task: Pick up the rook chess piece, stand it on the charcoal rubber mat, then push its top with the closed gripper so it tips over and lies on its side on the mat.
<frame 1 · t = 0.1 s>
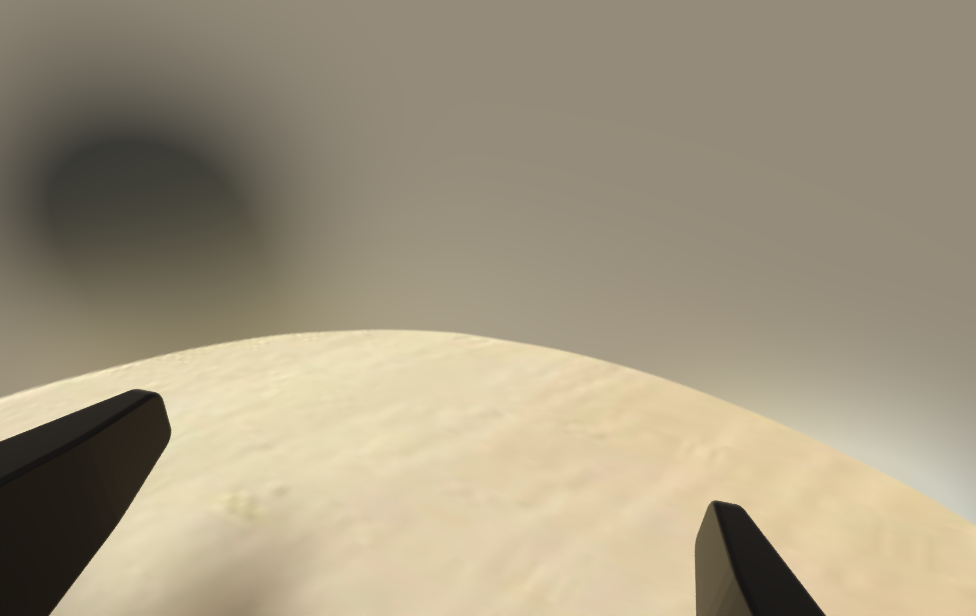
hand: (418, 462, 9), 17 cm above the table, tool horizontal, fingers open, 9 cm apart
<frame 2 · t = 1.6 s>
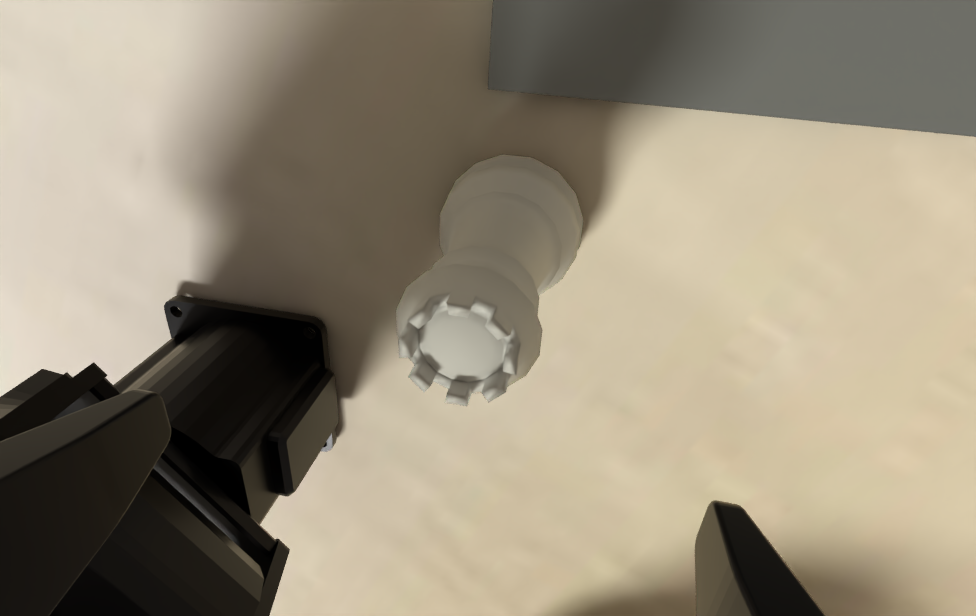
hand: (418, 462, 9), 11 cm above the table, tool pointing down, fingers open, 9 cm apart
rook chess piece: (515, 217, 19), on the table
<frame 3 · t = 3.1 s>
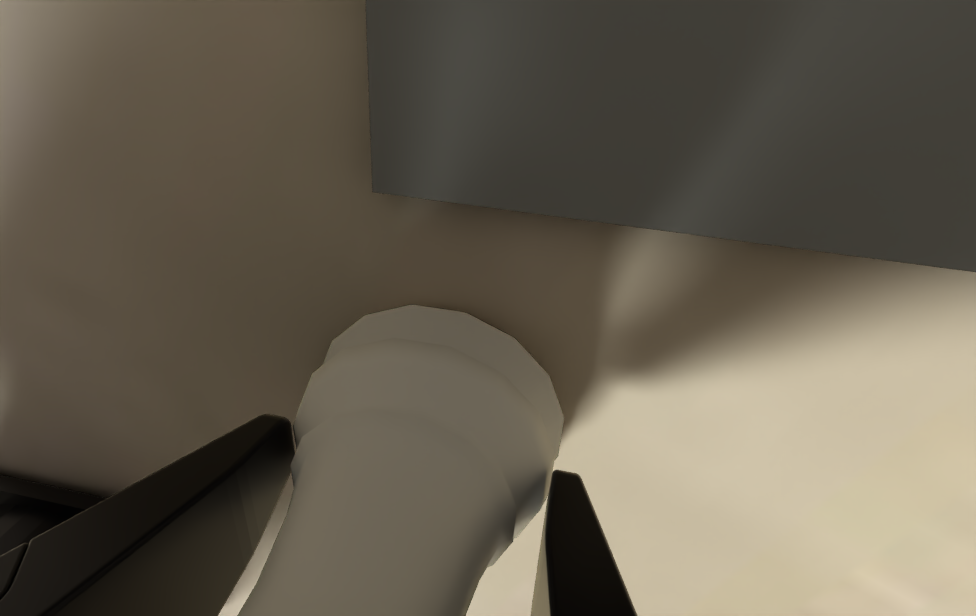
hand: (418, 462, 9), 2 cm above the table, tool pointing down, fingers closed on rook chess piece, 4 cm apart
rook chess piece: (446, 391, 11), on the table, touching gripper
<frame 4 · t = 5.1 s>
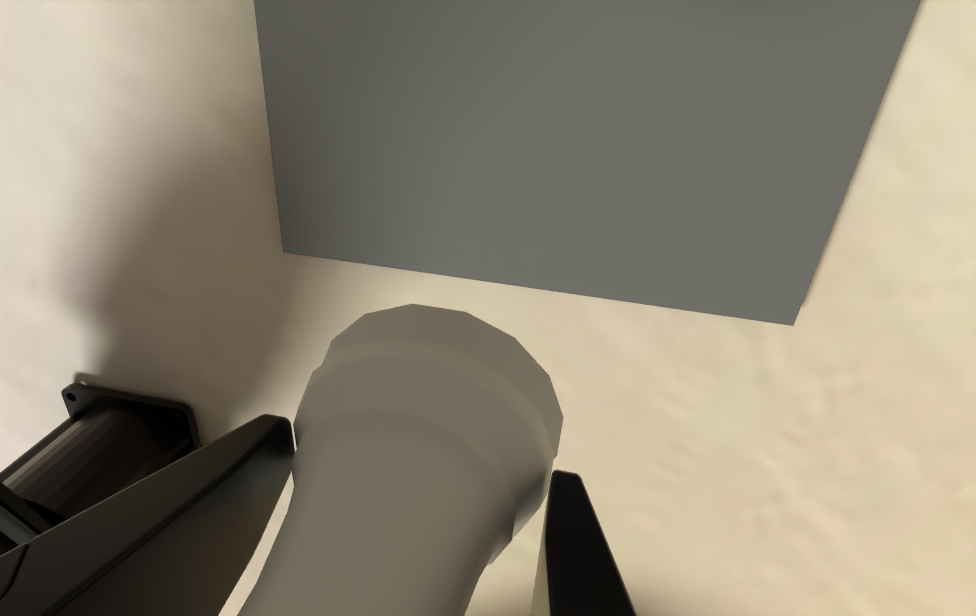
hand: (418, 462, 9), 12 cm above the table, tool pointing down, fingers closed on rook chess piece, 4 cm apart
rubber mat: (550, 70, 17), on the table
rook chess piece: (446, 390, 11), point 10 cm above the table, touching gripper
when the fingers open (4 cm above the table, at t = 7.0 s): rook chess piece drops 1 cm, resting on rubber mat.
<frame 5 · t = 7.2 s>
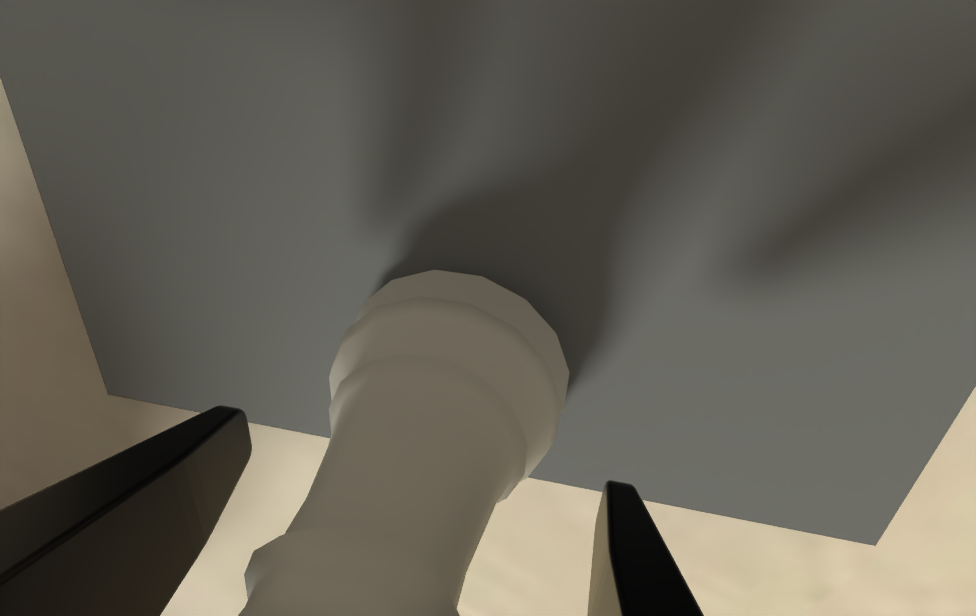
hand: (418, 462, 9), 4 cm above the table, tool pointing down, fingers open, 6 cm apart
rubber mat: (480, 153, 10), on the table
rook chess piece: (463, 353, 12), resting on rubber mat
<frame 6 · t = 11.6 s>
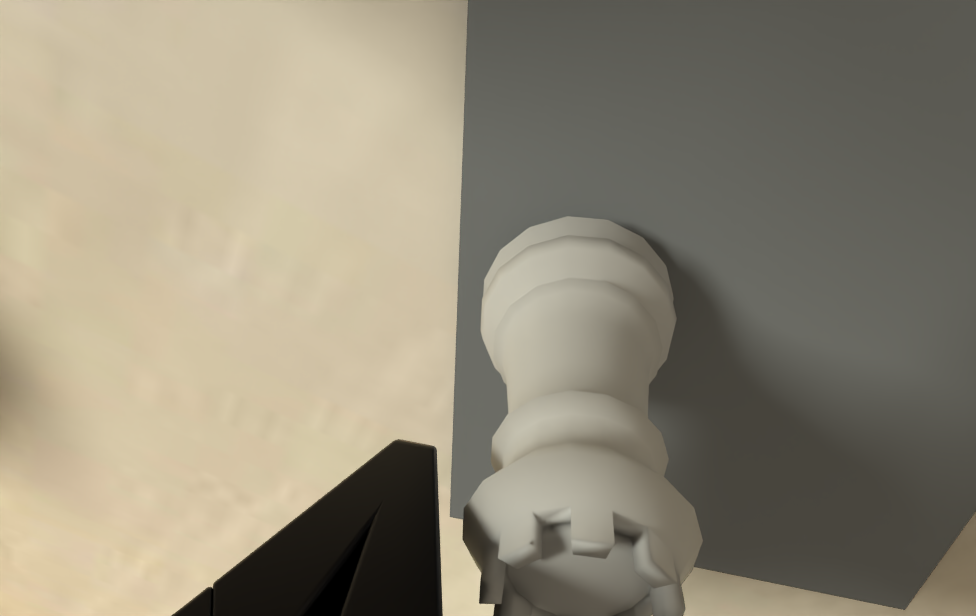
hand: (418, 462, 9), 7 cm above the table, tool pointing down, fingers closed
rubber mat: (742, 305, 14), on the table
rook chess piece: (575, 291, 14), point 1 cm above the table, touching gripper, rubber mat
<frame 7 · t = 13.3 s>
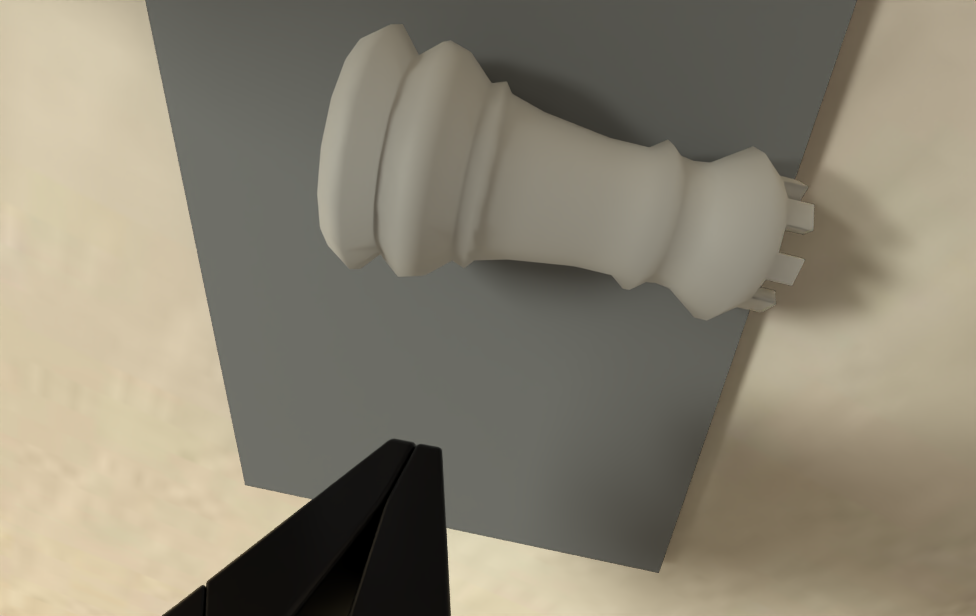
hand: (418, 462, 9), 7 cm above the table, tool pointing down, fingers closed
rubber mat: (457, 275, 15), on the table
rook chess piece: (343, 144, 11), point 3 cm above the table, touching rubber mat
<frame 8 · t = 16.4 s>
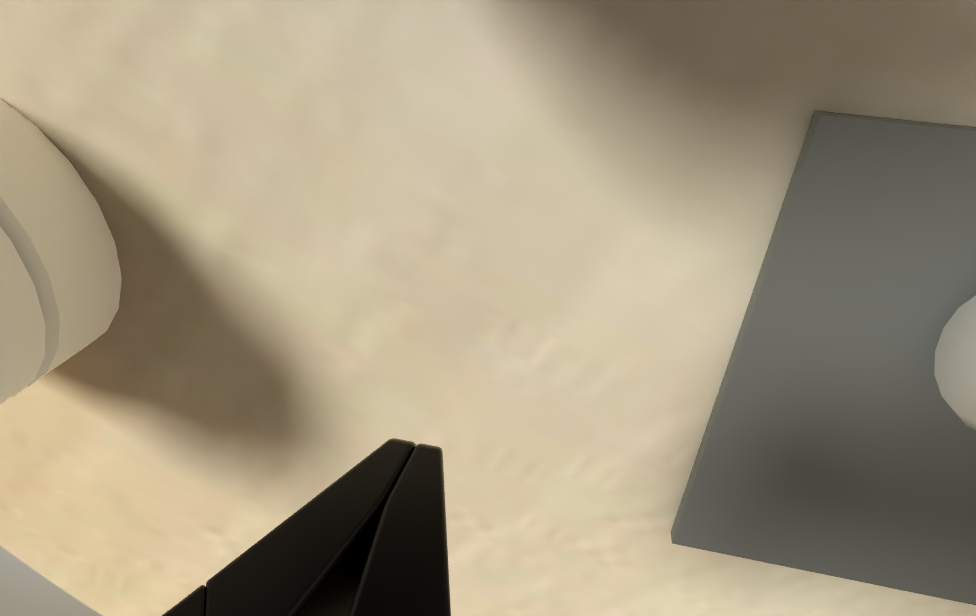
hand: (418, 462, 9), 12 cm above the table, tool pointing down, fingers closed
rubber mat: (936, 400, 20), on the table
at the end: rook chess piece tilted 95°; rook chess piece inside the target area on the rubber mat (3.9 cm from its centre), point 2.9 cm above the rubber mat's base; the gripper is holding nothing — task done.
